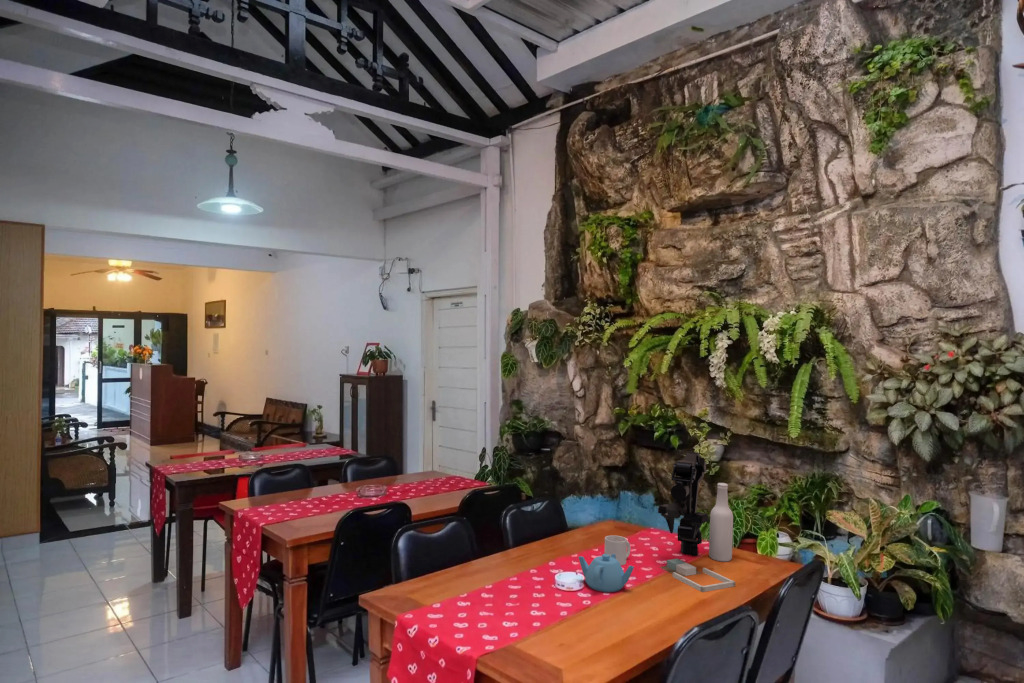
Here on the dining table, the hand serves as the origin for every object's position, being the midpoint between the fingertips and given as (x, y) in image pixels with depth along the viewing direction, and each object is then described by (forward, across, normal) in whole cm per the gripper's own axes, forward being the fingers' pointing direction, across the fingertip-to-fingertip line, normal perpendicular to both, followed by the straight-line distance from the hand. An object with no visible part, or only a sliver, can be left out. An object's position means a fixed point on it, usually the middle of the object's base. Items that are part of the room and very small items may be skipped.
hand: (682, 536), depth 237 cm
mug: (+13, -18, -15) cm, 27 cm away
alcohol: (+13, +3, +24) cm, 27 cm away
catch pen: (+12, +14, -9) cm, 21 cm away
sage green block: (+11, +1, -5) cm, 12 cm away
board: (+12, +3, -5) cm, 14 cm away
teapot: (+13, -8, -36) cm, 39 cm away
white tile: (+11, +6, -6) cm, 14 cm away
